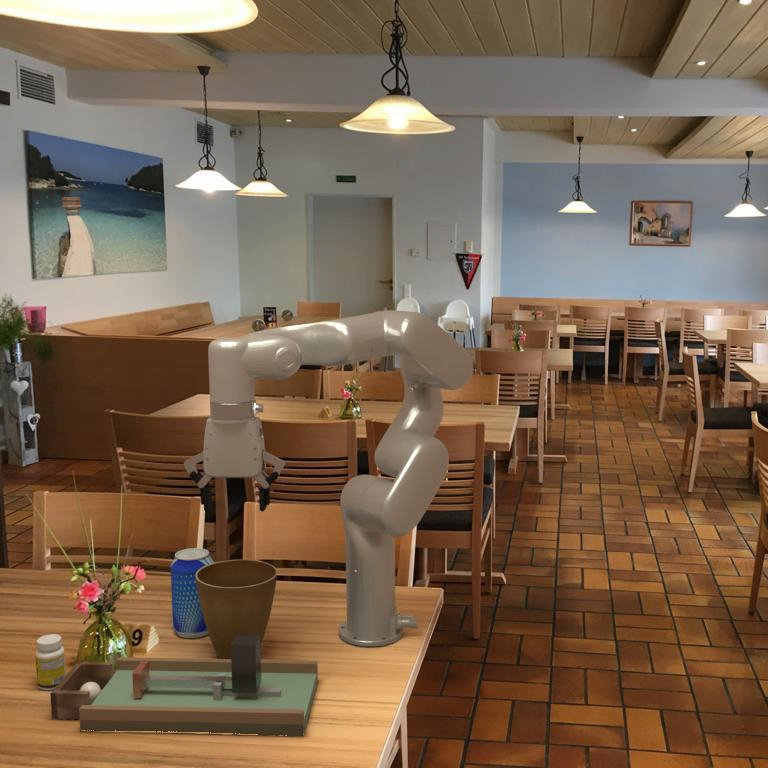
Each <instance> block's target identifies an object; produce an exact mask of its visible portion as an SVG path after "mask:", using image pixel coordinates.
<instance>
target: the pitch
mask: <svg viewBox="0 0 768 768" xmlns="http://www.w3.org/2000/svg"><path fill="white" fill-rule="evenodd" d="M142 660H149V673H150V675H161V676H214V677H232V667H231V659H219V658H191V657H190V658H187V657H186V658H185V657H177V658H175V657H174V658H173V657H128V656H125V657H124V656H121V657H120V656H119V657H118V658H117V660H116V666H117V667H116V671H115V672H114V673H113V677H112V678H111V679H110V681H109V682H108V683H107V684H106V686H105V687H104V688H103V690H102V689H101V692H100V694H99V695H98V696H97V698H96V699H95V700H94V702H93V703H92V704H90V705H82V706H81V707H80V708H79V717H80V720H79V728H80V729H79V731H80V730H86V731H87V730H88V731H89V730H90V731H91V730H92V731H93V730H94V731H115V730H116V731H156V732H157V731H161V732H162V731H163V732H168V731H170V732H171V731H172V732H173V731H174V732H176V731H177V732H209V733H210V732H211V733H233V734H235V733H236V734H239V733H240V734H258V735H275V736H274V737H279V736H278V735H283V736H282V737H295V736H303V737H304V735H303V734H305V732H304V731H306V728H305V727H307V724H308V721H309V716H310V713H311V712H310V711H311V709H312V704H313V701H314V696H315V693H316V689H317V685H318V682H319V675H318V671H319V670H318V660H306V659H305V660H302V659H301V660H298V659H296V660H295V659H291V660H290V659H261V684H260V686H259V689H258V691H257V693H232V689H222V682H214V684H213V689H209V688H157V687H148V688H147V689H146V691H145V692H144V694H143V695H142V697H141V698H133V677H132V673H133V672H134V671H135V669H136V668H137V666H138V665H139V664H140V662H141V661H142ZM285 735H287V736H285Z"/></svg>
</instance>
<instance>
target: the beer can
mask: <svg viewBox="0 0 768 768" xmlns="http://www.w3.org/2000/svg"><path fill="white" fill-rule="evenodd" d="M212 563H215V562H214V560H213V559H212V557H211V556H210V552H209V550H208V549H205V548H199V547H197V548H196V547H194V548H193V547H192V548H191V547H190V548H185V549H181V550H179V551H177V552H175V554H174V559H173V560H172V563H171V564H170V584H171V585H170V587H171V588H170V589H171V590H170V591H171V609H172V612H171V613H172V628H173V631H175V632H176V633H177V636H179V637H181V638H184V639H197V638H198V639H200V638H203V636H204V637H206V636H208V635H209V633H208V630H207V627H206V624H205V620H204V617H203V613H202V609H201V605H200V601H199V596H198V590H197V584H196V577H195V574H196V572H197V571H198V570H199V569H200V568H202V567H204V566H206V565H209V564H212ZM199 637H200V638H199Z"/></svg>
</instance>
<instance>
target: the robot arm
mask: <svg viewBox="0 0 768 768" xmlns="http://www.w3.org/2000/svg"><path fill="white" fill-rule="evenodd" d="M207 350H208V352H207V353H208V354H207V357H208V378H209V412H210V413H209V416H210V417H208V418H207V419H206V424H205V428H204V430H205V431H204V437H203V438H204V439H203V451H202V452H199V453H198V454H196V455H194V456H192V457H190V458H188V459H186V460H185V461H184V462H183V466H184V468H185V470H186V472H187V473H188V475H189V478H190V479H191V480H192V481H194V483H195V484H196V485H197V487H198V488H199V490H200V492H199V493H200V504H201V506H202V505H203V511H205V512H207V511H209V510H210V509H211V507H213V488H212V485H211V483H210V481H211V480H212V479H213V478H217V479H218V478H219V479H220V478H223V479H225V478H226V479H231V478H232V479H236V478H237V479H238V478H239V479H243V478H244V479H250V478H251V479H253V478H254V479H255V481H257V483H258V484H259V485H260V487H259V489H258V497H259V498H258V500H259V501H258V502H259V503H258V504H259V511H260V512H265V510H266V509H267V507H268V506H269V505H270V503H271V494H270V493H271V492H270V491H271V489H270V488H271V487H270V486H271V485H273V483H274V482H275V481H276V480H277V479H278V477H280V474H281V473H282V470H283V469H284V467H285V464H286V461H284V460H283V459H281V458H280V457H277V456H275V455H273V454H271V453H270V452H268V451H266V447H265V438H264V430H263V426H262V421H261V418H260V417H259V416H256V415H257V414H259V413H263V412H264V409H265V408H264V404H259V403H258V402H256V401H257V400H256V399H255V398H256V397H255V380H275V381H278V380H284V379H288V378H290V377H292V376H294V375H295V374H296V373H297V372H298V370H299V369H300V367H301V366H323V367H338V366H341V367H342V366H346V365H351V364H356V363H360V362H364V361H368V360H369V361H370V360H373V359H379V358H383V357H387V356H399V357H400V362H399V367H400V373H401V377H402V380H403V385H404V396H403V397H404V398H403V401H402V404H401V406H400V408H399V409H398V412H397V414H396V415H395V417H394V418H393V420H392V422H391V423H390V425H389V427H388V428H387V430H386V432H385V433H384V434H383V436H382V438H381V439H380V442H379V443H378V445H377V447H376V448H375V453H374V463H375V465H376V467H377V468H378V470H380V471H381V472H382V473H384V475H385V474H386V475H388V476H389V477H393V478H394V481H391V480H389V479H386V478H382V477H379V476H377V475H371V474H359V475H357V476H354V477H352V478H350V479H349V480H348V481H347V483H345V485H344V486H343V488H342V491H341V495H340V511H341V518H342V522H343V527H344V535H345V536H344V537H345V573H346V575H345V576H346V577H345V582H346V583H345V585H346V586H345V587H346V589H345V590H346V592H345V593H346V596H345V597H346V620H345V621H343V622H342V623H341V624H340V626H339V627H338V636H339V637H340V638H341V640H343V641H344V642H346V643H348V644H350V645H353V646H354V645H355V646H359V647H368V648H369V647H382V646H387V645H390V644H393V643H395V642H397V641H398V640H401V638H402V637H403V634H404V628H409V629H418V628H419V618H418V617H413V614H412V613H405V614H402V613H401V612H398V606H396V545H395V538H396V537H398V538H399V537H403V536H406V535H408V534H409V533H411V532H412V531H413V530H414V529H415V528H416V526H417V525H418V524H419V523H420V521H421V520H422V518H423V516H424V515H425V513H426V512H427V509H429V506H430V505H431V503H432V501H433V500H434V498H435V496H436V494H437V493H438V491H439V490H440V487H441V486H442V484H443V482H444V480H445V478H446V476H447V473H448V470H449V466H450V465H449V463H450V461H449V460H450V459H449V457H450V456H449V455H450V454H449V452H448V449H447V447H446V445H445V444H444V443H443V441H441V440H439V439H438V438H437V437H435V435H436V432H437V431H438V430H439V427H440V425H441V423H442V421H443V418H444V417H443V416H444V413H445V412H444V409H445V408H444V400H443V395H442V390H447V391H455V390H459V389H462V388H463V387H465V386H466V385H467V384H468V383H469V382H470V380H471V378H472V376H473V372H474V365H473V364H474V363H473V360H472V357H471V355H470V353H469V351H467V349H466V348H465V347H464V346H463V345H462V344H461V343H459V342H458V341H457V340H456V339H455V338H454V337H452V336H451V335H450V334H449V333H448V332H447V331H445V330H444V329H443V328H442V327H441V326H440V325H439V324H437V322H435V321H434V320H432V319H431V318H429V316H427V315H425V314H423V313H420V312H417V311H410V310H408V311H407V310H398V309H397V310H394V309H393V310H389V309H388V310H380V311H377V312H375V311H374V312H370V313H365V314H361V315H360V314H359V315H354V316H348V317H343V318H338V319H330V320H324V321H323V320H321V321H317V322H316V321H315V322H311V323H305V324H303V323H302V324H296V325H288V326H280V327H274V328H269V329H263V330H258V331H253V332H250V333H248V334H245V335H243V336H242V337H241V338H240V337H225V338H224V337H223V338H216V339H214V340H211V342H210V343H209V345H208V348H207ZM201 462H202V465H203V466H202V467H203V468H202V469H203V473H204V475H203V474H202V473H201V472H200V471H198V470H197V468H196V464H198V463H201ZM266 463H268V464H270V465H272V466H273V467H274V469H273V471H272V472H271V473H270V474H269V475H268V474H267V473H266V472H265V470H266V465H267V464H266Z"/></svg>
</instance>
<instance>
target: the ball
mask: <svg viewBox="0 0 768 768" xmlns="http://www.w3.org/2000/svg"><path fill="white" fill-rule="evenodd" d="M79 691H90V705H91V704H92V703H93V702H94V700H95V699H96V698H97V696H98V695H99V694H100V692H101V691H102V689H100V686H99V685H98V684H97V683H95V682H87V683H85V684H84V685H83V686H82V687H81V688H80V690H79Z"/></svg>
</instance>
